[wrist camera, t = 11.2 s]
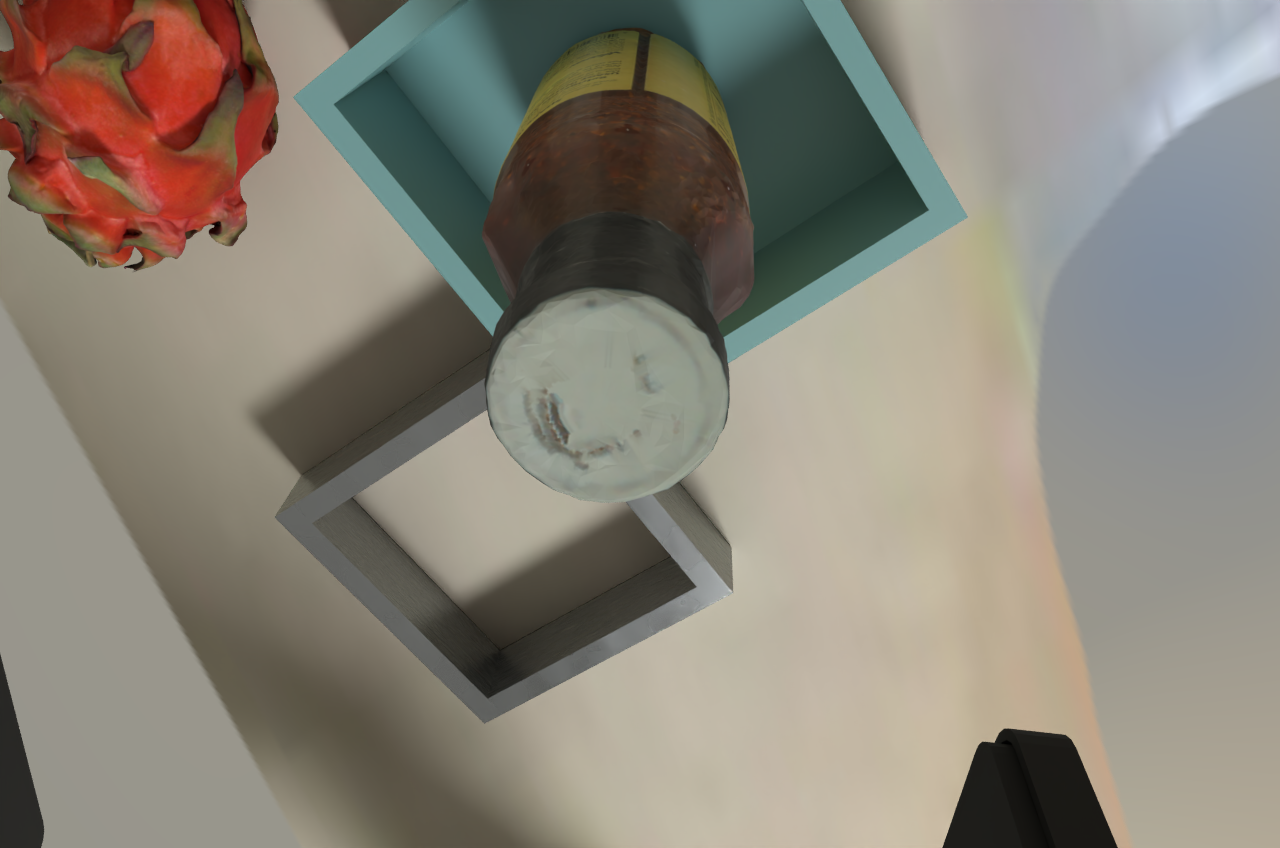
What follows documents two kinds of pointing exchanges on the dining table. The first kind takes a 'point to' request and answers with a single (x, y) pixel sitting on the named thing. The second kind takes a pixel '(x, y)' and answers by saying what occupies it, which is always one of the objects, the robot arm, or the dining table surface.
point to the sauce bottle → (617, 270)
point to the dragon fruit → (134, 121)
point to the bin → (753, 99)
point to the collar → (434, 621)
